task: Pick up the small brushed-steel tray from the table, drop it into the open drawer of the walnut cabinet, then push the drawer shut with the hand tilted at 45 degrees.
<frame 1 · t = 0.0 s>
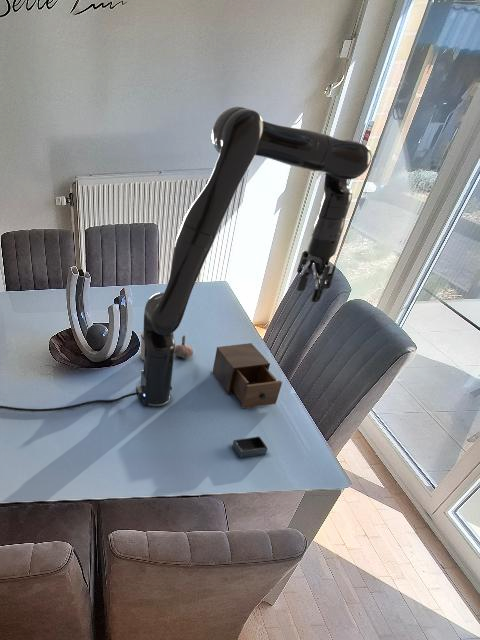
hand: (307, 295, 137), 29 cm above the table, tool pointing down, fingers open, 8 cm apart
tray: (248, 450, 133), on the table
cabinet: (237, 380, 159), on the table
garlic bulb: (182, 356, 172), on the table
drawer: (253, 385, 148), point 5 cm above the table, slide at 9.0 cm
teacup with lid: (155, 357, 173), on the table
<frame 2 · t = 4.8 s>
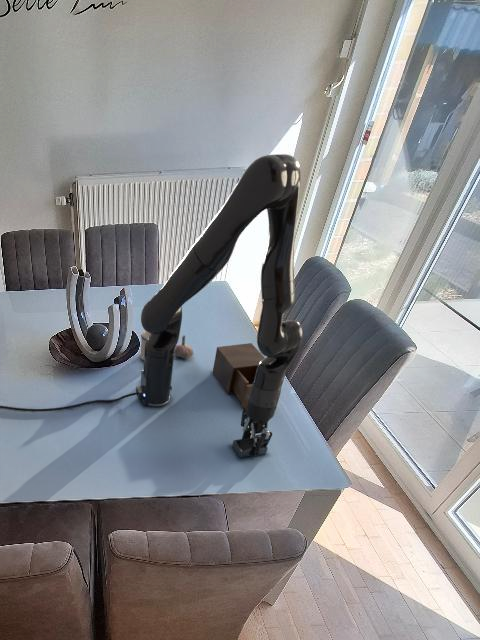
hand: (249, 448, 132), 1 cm above the table, tool pointing down, fingers closed on tray, 5 cm apart
tray: (248, 450, 133), on the table, touching gripper
everything else where it was.
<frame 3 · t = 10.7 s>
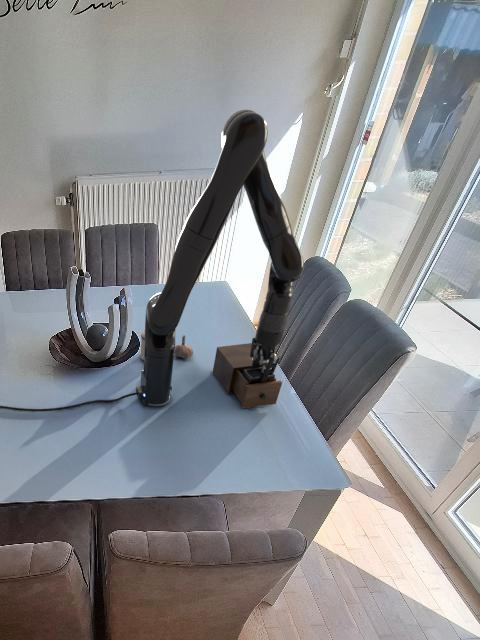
hand: (257, 377, 145), 8 cm above the table, tool pointing down, fingers closed on tray, 5 cm apart
tray: (257, 379, 146), point 8 cm above the table, touching gripper
everything else where it was.
when the fingers open (8 cm above the table, at t = 26.1 s): tray drops 5 cm, resting on drawer.
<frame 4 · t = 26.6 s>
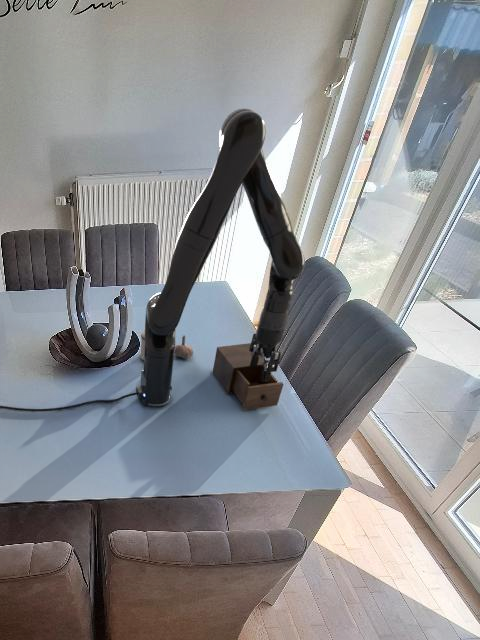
hand: (258, 374, 144), 9 cm above the table, tool pointing down, fingers open, 8 cm apart
tray: (254, 395, 149), point 2 cm above the table, touching drawer
drawer: (255, 386, 148), point 5 cm above the table, slide at 9.9 cm, touching tray
everything else where it was.
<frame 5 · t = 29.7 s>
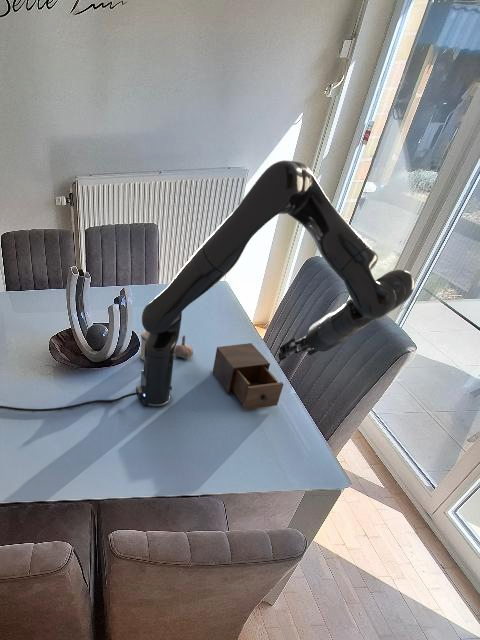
hand: (294, 354, 125), 23 cm above the table, tool tilted 45°, fingers open, 8 cm apart
nothing on the table moved.
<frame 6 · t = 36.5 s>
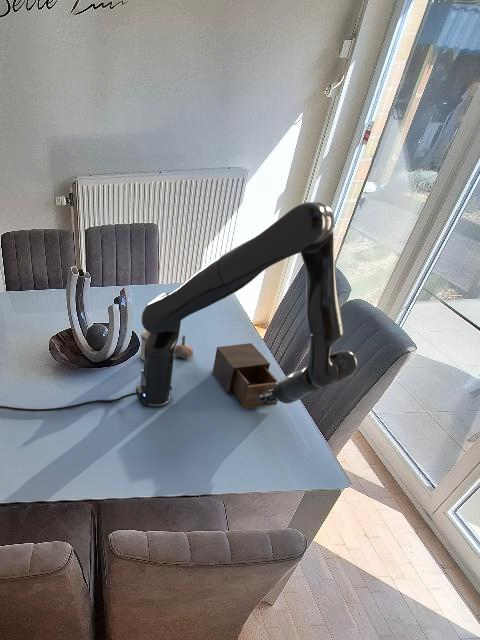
hand: (264, 400, 143), 4 cm above the table, tool tilted 45°, fingers closed
drawer: (254, 386, 148), point 5 cm above the table, slide at 9.5 cm, touching gripper, tray
everything else where it was.
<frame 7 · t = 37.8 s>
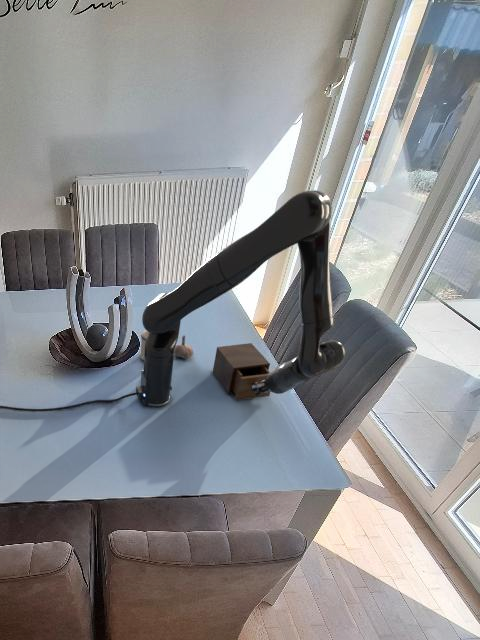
hand: (257, 392, 146), 4 cm above the table, tool tilted 45°, fingers closed
tray: (246, 386, 153), point 2 cm above the table, touching drawer
drawer: (248, 378, 152), point 5 cm above the table, slide at 4.3 cm, touching gripper, tray
everything else where it was.
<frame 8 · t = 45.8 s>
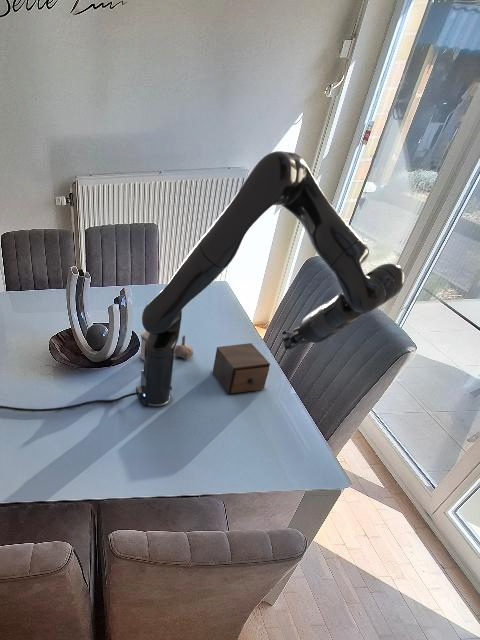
hand: (287, 345, 127), 24 cm above the table, tool tilted 45°, fingers closed
tray: (241, 379, 156), point 2 cm above the table, touching drawer
drawer: (242, 371, 154), point 5 cm above the table, slide at 0.0 cm, touching tray
everything else where it was.
at the end: tray inside the target area in the cabinet (2.7 cm from its centre), point 2.0 cm above the cabinet's base; drawer slide at 0.0 cm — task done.
